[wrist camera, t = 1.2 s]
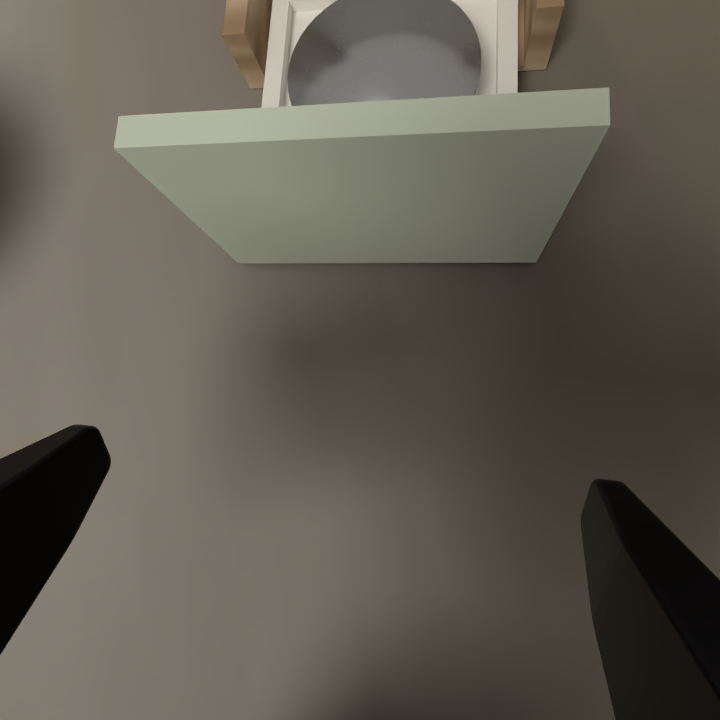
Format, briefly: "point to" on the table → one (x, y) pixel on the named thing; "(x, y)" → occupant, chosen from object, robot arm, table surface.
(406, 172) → the drawer
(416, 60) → the disc
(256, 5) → the housing
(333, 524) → the table surface
